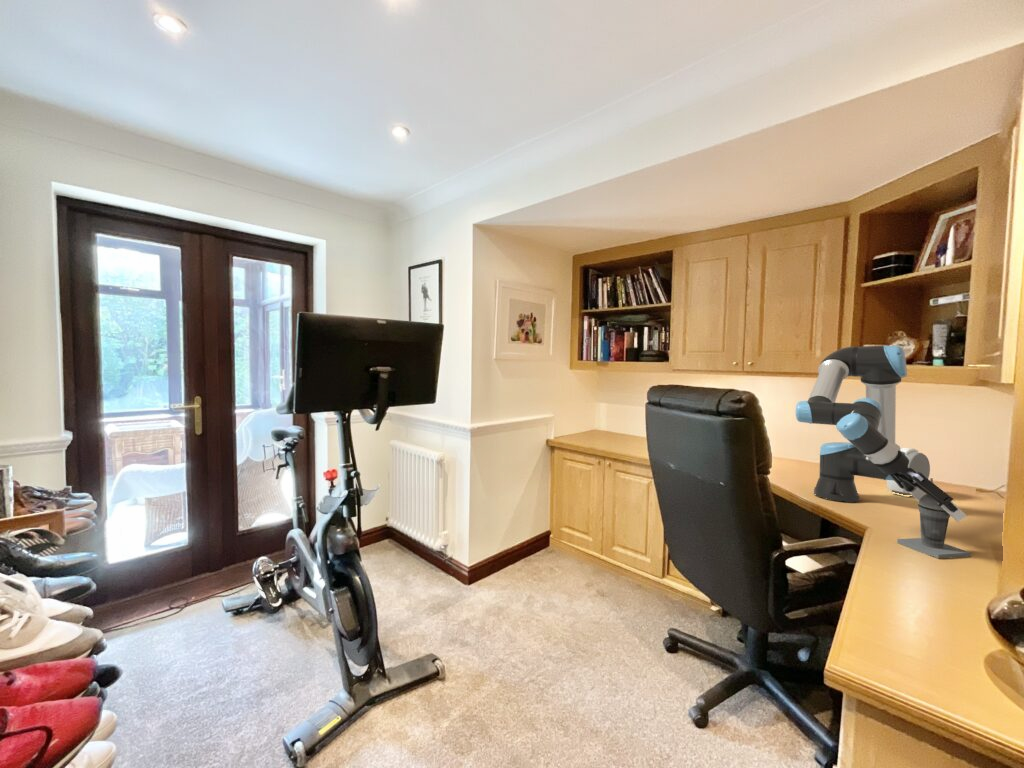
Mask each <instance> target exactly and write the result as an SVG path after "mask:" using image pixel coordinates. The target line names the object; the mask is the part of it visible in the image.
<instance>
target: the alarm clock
mask: <svg viewBox="0 0 1024 768" xmlns="http://www.w3.org/2000/svg"><path fill="white" fill-rule="evenodd" d="M900 451H903V452H905V453H906V455H905V456H906V457H907V458H908V459H909V464H908V468H911V469H913V470H914V471H915V472H916V473H918V472H920V473H922V474H923V475H924V476H925V477H926V478H927V479H928V480H929V479H930V478H929V477H930V473H931V465H930V460H929V458H928V457H927V455H926V454H924V453H922V452H919V450H917V449H915V448H910V447H902V448H901V447H900ZM913 483H916V482H915V481H914V482H913ZM914 488H916V487H914ZM886 489H887V490H890V491H891V493H892V492H895V493H899V494H903V495H911V494H910V491H909V492H908V491H906V490H905V489H904V488H903V489H902V488H900V487H899V486H898V484H897V483H896V482H895V481H893V480H886ZM921 491H922V490H921Z"/></svg>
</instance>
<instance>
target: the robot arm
mask: <svg viewBox="0 0 1024 768" xmlns="http://www.w3.org/2000/svg"><path fill="white" fill-rule="evenodd" d="M817 373H818V375H817V378H816V380H815V382H814V385H813V387H812V388H811V389H812V390H811V391H810V394H809V397H808V399H807V400H800V401H798V402H797V403H796V406H795V418H796V420H797V421H798V422H799V423H805V424H816V425H827V426H829V425H830V426H831V425H832V426H836V430H837V431H838V432H839V434H841V436H842V437H843V438H844V439H846V440H847V441H849V442H847V441H846V442H843V441H841V442H838V441H837V442H827V443H826V442H825V443H823V444H821V446H820V450H819V477H818V478H817V479H818V480H817V482H816V484H815V487H814V488H813V495H814V494H816V495H818V496H820V497H823V498H822V499H824V498H827V499H826V500H828V499H831V500H830V501H833V500H837V501H836V502H839V501H846V502H845V503H855V502H854V501H858V502H860V494H859V493H858V489H857V486H856V483H855V476H858V477H865V478H870V479H877V480H883V481H887V480H893V481H895V482H896V483H897V484H898V486H899V487H900V488H902V489H903V488H904V489H905V490H906V491H908V492H909V491H910V494H911V495H912V497H913V498H914V499H916V500H917V501H918V502H919V500H920V498H921V497H922V496H924V495H926V494H927V495H929V496H930V497H931V498H933V499H934V500H935V501H937V502H938V506H941V507H942V508H943V509H944V510H945V511H946V512H947V513H948V514H949V515H950V517H952V518H953V520H954V521H956V522H957V523H960V522H961V521H963V519H965V518H966V517H968V515H967V514H966V513H965V512H964V511H963V510H961V509H960V508H959V506H957V505H956V504H955V503H954V502H953V501H954V498H953V497H952V496H950V495H949V494H948V493H947V492H945V491H944V490H943V489H941V488H940V487H939V486H938V485H937V484H935V483H934V482H933V483H932V482H931V480H930V479H929V478H928V479H927V478H926V477H925V476H924V475H923V474H922V473H920V472H918V473H916V472H915V471H914V470H913V469H911V468H908V464H909V459H908V458H907V457H906V456H905V455H906V453H905V452H903V451H900V449H901V446H900V445H899V444H897V443H896V414H897V413H896V406H897V405H896V404H897V402H896V399H897V395H896V393H897V392H896V389H897V385H899V384H901V383H902V378H903V379H904V378H906V377H907V375H908V370H907V360H906V356H905V352H904V349H903V348H902V347H901V346H899V345H886V344H885V345H868V346H867V345H866V346H846V347H843V348H840V349H838V350H835V351H833V352H831V353H829V355H827V356H825V357H824V358H823V359H822V360H821V361H820V363H819V365H818V368H817ZM847 377H856V378H860V382H861V383H862V384H863V385H865V397H861V398H859V399H856V400H855V401H854V402H853V403H851V402H849V403H847V402H836V401H837V397H838V394H839V392H840V389H841V386H842V383H843V381H844V380H846V378H847ZM914 481H915V482H916V483H913V482H914ZM914 487H916V488H914ZM921 490H922V491H921ZM816 495H815V496H816ZM818 496H817V497H818ZM820 497H819V498H820Z"/></svg>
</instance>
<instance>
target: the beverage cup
mask: <svg viewBox="0 0 1024 768" xmlns="http://www.w3.org/2000/svg"><path fill="white" fill-rule="evenodd" d="M933 479H934V478H929V480H930V481H931V482H932V483H934V480H933ZM925 494H926V493H925ZM917 506H918V507H917V508H918V512H919V521H920V522H919V523H920V524H919V525H920V538H921V540H922V544H923V545H925V546H928V547H932V548H937V549H942V548H943V545H944V543H945V541H946V536H947V530H948V524H949V521H950V518H951V516H950V515H949V514H948V513H947V512H946V511H945V510H944V509H943V508H942V507H941V506H938V502H937V501H935V500H934V499H933V498H931V497H930V496H929V495H927V494H926V495H924V496H922V497H921V498H920V500H919V501H918V502H917Z"/></svg>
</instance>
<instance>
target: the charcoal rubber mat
mask: <svg viewBox="0 0 1024 768" xmlns="http://www.w3.org/2000/svg"><path fill="white" fill-rule="evenodd" d="M896 542H897V543H896V544H899V545H901V546H903V547H906V548H909V549H912V550H915V551H917V552H920V553H923V554H924V553H925V555H927V556H930V555H931V556H930V557H932V556H934V557H933V558H935V557H936V558H935V559H937V558H944V559H951V558H950V557H959V558H971V557H972V555H971V554H972V553H971V552H970V551H967V550H965V549H961V548H959V547H956V546H953V545H950V544H947V543H945V542H944V545H943V548H942V549H937V548H932V547H928V546H925V545H923V544H922V540H921V537H911V538H910V537H909V538H897V541H896ZM967 556H968V557H967ZM970 556H971V557H970Z"/></svg>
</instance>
